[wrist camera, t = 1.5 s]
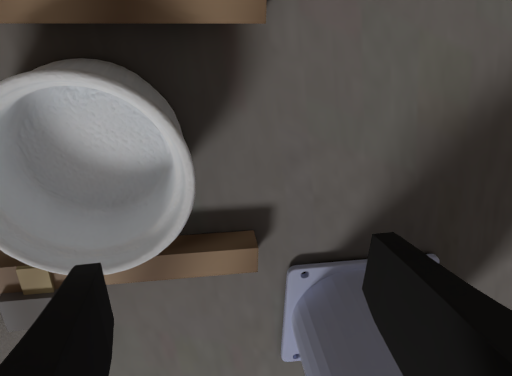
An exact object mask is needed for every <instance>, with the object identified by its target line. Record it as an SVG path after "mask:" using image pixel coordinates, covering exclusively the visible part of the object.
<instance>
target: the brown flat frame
mask: <svg viewBox="0 0 512 376" xmlns="http://www.w3.org/2000/svg"><path fill="white" fill-rule="evenodd" d="M0 23H258V24H266V0H0ZM251 272H258V245H257V241H256V237H255V233H254V230H251V231H237V232H223V233H209V234H194V235H180V236H177V238H176V239H175V240H174V241H173V242H172V243H171V244H170V245H169V246H168V247H166V248H165V249H164V250H163V251H162V252H160V253H159V254H158V255H156V256H155V257H153V258H152V259H150V260H148V261H146V262H144V263H142V264H140V265H138V266H136V267H133V268H131V269H128V270H125V271H121V272H117V273H113V274H108V275H104V279H105V283H106V285H109V284H121V283H133V282H144V281H156V280H168V279H180V278H192V277H203V276H215V275H227V274H239V273H251ZM66 277H67V275H63V274H58V273H52V272H49V271H45V270H41V269H38V268H35V267H32V266H29V265H27V264H25V263H23V262H21V261H19V260H17V259H15V258H12V257H11V256H9V255H7V254H5V253H4V252H2V251H1V250H0V294H1V296H0V312H1V314H2V317H3V320H4V323H5V325H6V328H7V331H8V332H10V331H20V330H29V328H30V327H31V326H32V324H33V323H34V322H35V320H36V319H37V318H38V316H39V315H40V314H41V312H42V311H43V310H44V308H45V307H46V305H47V304H48V303H49V301H50V300H51V298H52V297H53V296H54V294H55V293H56V291H57V290H58V288H59V287H60V285H61V284H62V282H63V281H64V279H65V278H66Z"/></svg>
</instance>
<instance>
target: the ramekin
mask: <svg viewBox="0 0 512 376" xmlns="http://www.w3.org/2000/svg"><path fill="white" fill-rule="evenodd" d="M195 194H196V176H195V169H194V164H193V160H192V157H191V154H190V151H189V148H188V146H187V144H186V142H185V140H184V138H183V134H182V131H181V127H180V124H179V122H178V120H177V118H176V115H175V113H174V111H173V109H172V108H171V107H170V105H169V104H168V102H167V100H166V99H165V98H164V97H163V96H161V95H160V93H159V92H158V91H157V90H155V89H154V88H153V87H152V86H151V85H150V84H149V83H148V82H146V81H145V80H144V79H142V78H141V77H140V76H139V75H137V74H136V73H134V72H132V71H130V70H128V69H126V68H125V67H123V66H120V65H117V64H114V63H112V62H107V61H102V60H98V59H86V58H77V59H65V60H61V61H54V62H51V63H49V64H47V65H42V66H40V67H38V68H36V69H34V70H32V71H29V72H24V73H20V74H17V75H14V76H11V77H8V78H6V79H3V80H1V81H0V250H1V251H2V252H4V253H5V254H7V255H9V256H11V257H12V258H15V259H17V260H19V261H21V262H23V263H25V264H27V265H29V266H32V267H35V268H38V269H41V270H45V271H49V272H52V273H58V274H63V275H68V274H69V272H70V271H71V269H72V268H73V267H74V266H75V265H82V264H92V263H101V266H102V270H103V275H108V274H113V273H117V272H121V271H125V270H128V269H131V268H133V267H136V266H138V265H140V264H142V263H144V262H146V261H148V260H150V259H152V258H153V257H155V256H156V255H158V254H159V253H160V252H162V251H163V250H164V249H165V248H166V247H168V246H169V245H170V244H171V243H172V242H173V241H174V240H175V239H176V238H177V236H178V235H179V233H180V232H181V231H182V229H183V227H184V226H185V224H186V222H187V220H188V218H189V216H190V213H191V211H192V208H193V203H194V199H195Z"/></svg>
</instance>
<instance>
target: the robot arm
mask: <svg viewBox="0 0 512 376" xmlns="http://www.w3.org/2000/svg"><path fill="white" fill-rule="evenodd" d="M439 261H440V260H439V258H438V257H437V256H436V255H435V254H424V253H423V252H422V251H420V250H419V249H417V248H416V247H414V246H413V245H412V244H410V243H409V242H407V241H406V240H404V239H403V238H401V237H400V236H398V235H397V234H395V233H394V232H389V233H380V234H372V239H371V244H370V249H369V254H368V259H363V260H351V261H339V262H327V263H315V264H303V265H294V266H292V267H290V268H289V269H288V271H287V278H286V291H285V304H284V317H283V330H282V343H281V357H282V360H283V361H285V362H292V361H300V360H301V361H302V365H303V368H304V372H305V375H306V376H512V310H510V309H508V308H507V307H505V306H503V305H502V304H500V303H498V302H497V301H495V300H493V299H492V298H490V297H489V296H487V295H485V294H484V293H482V292H480V291H479V290H477V289H476V288H474V287H473V286H471V285H470V284H468V283H466V282H465V281H463V280H462V279H460V278H459V277H457V276H456V275H455V274H453V273H452V272H450V271H449V270H447V269H446V268H444V267H443V266H441V265H440V264H439ZM305 271H306V273H305V274H301V273H303V272H305ZM113 328H114V318H113V313H112V309H111V305H110V300H109V296H108V292H107V287H106V283H105V279H104V275H103V270H102V266H101V263H92V264H82V265H75V266H74V267H73V268H72V269H71V271H70V272H69V274H68V275H67V277H66V278H65V279H64V281H63V282H62V284H61V285H60V287H59V288H58V290H57V291H56V293H55V294H54V296H53V297H52V298H51V300H50V301H49V303H48V304H47V305H46V307H45V308H44V310H43V311H42V312H41V314H40V315H39V316H38V318H37V319H36V320H35V322H34V323H33V324H32V326H31V327H30V328H29V330H28V331H27V332H26V334H25V335H24V336H23V337H22V339H21V340H20V341H19V343H18V344H17V345H16V346H15V347H14V349H13V350H12V351H11V352H10V353H9V355H8V356H7V357H6V358H5V359H4V361H3V362H2V363H1V364H0V376H109V370H110V365H111V359H112V345H113Z"/></svg>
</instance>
